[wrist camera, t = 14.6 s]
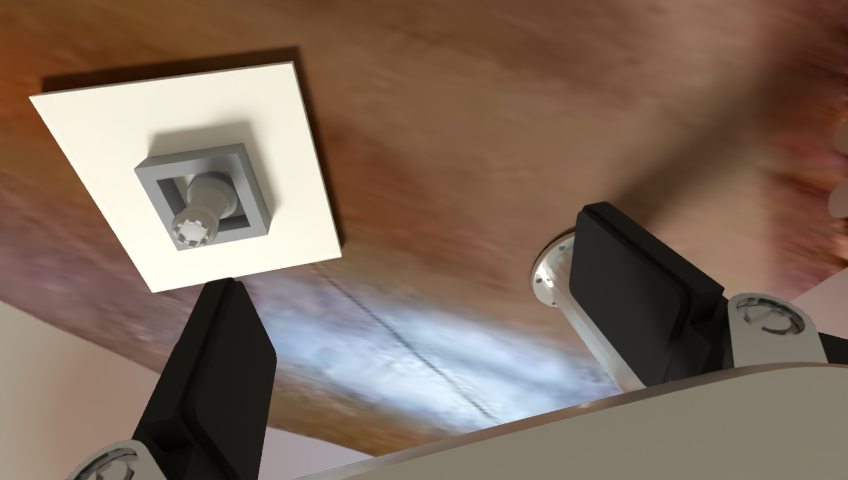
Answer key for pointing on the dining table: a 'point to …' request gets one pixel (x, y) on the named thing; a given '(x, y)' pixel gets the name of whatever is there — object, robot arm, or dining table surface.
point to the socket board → (200, 168)
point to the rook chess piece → (205, 208)
